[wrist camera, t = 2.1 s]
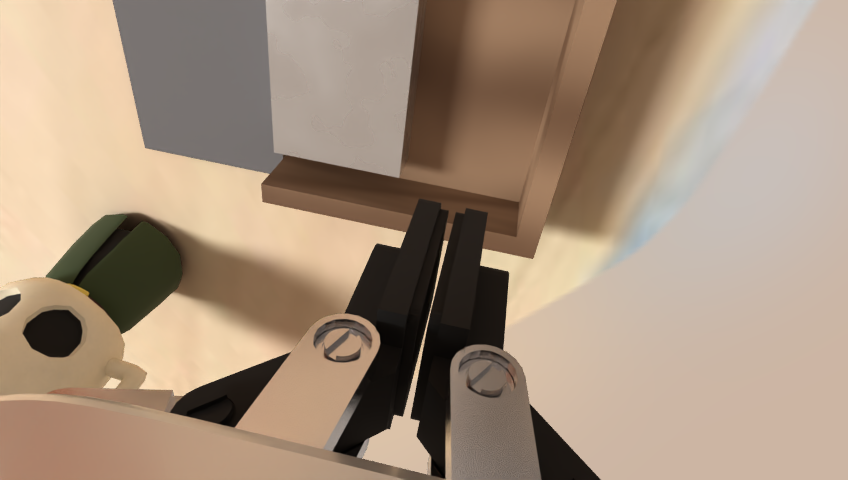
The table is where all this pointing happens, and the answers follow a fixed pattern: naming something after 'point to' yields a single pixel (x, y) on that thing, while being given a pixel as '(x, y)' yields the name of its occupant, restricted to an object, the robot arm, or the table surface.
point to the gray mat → (201, 78)
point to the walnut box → (474, 122)
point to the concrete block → (345, 80)
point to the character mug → (85, 310)
